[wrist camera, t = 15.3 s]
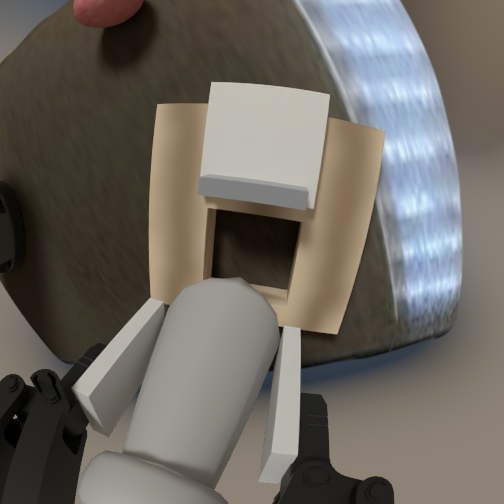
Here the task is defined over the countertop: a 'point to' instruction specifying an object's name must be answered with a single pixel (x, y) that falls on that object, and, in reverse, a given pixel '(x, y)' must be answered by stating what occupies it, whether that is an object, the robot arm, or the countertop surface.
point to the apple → (104, 11)
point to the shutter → (263, 144)
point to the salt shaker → (191, 399)
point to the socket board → (311, 220)
